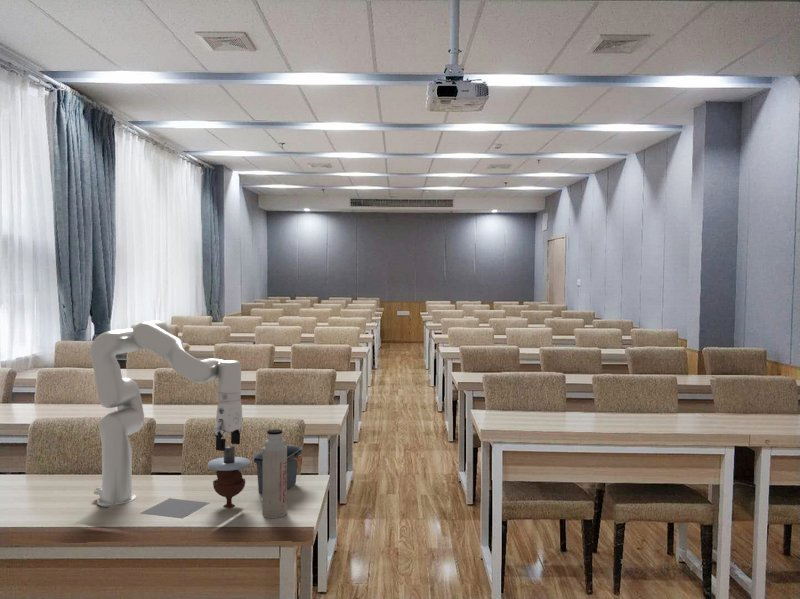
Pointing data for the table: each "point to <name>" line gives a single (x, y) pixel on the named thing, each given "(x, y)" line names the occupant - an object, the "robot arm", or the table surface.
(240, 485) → the ice cream bowl
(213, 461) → the lid
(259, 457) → the storage bin
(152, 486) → the table surface
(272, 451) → the thermos bottle
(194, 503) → the mat
